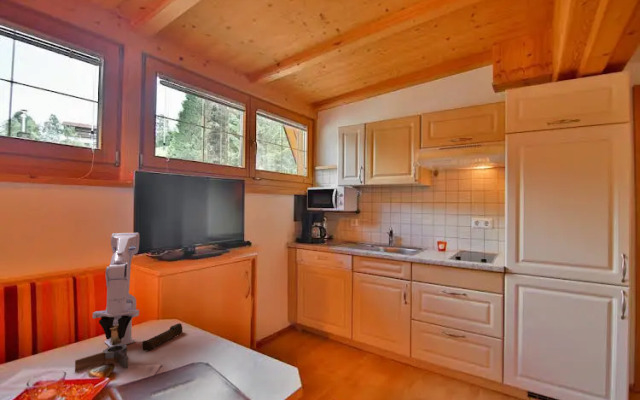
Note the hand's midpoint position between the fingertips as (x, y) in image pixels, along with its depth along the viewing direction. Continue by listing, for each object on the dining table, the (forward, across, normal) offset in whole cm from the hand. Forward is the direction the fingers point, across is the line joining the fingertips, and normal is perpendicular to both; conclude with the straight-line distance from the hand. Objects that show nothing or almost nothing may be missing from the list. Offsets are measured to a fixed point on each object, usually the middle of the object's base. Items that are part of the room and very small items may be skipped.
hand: (115, 337), depth 106 cm
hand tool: (+8, +11, +14) cm, 19 cm away
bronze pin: (+2, 0, 0) cm, 2 cm away
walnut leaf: (+7, -3, -3) cm, 8 cm away
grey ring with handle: (+7, +3, -3) cm, 8 cm away
